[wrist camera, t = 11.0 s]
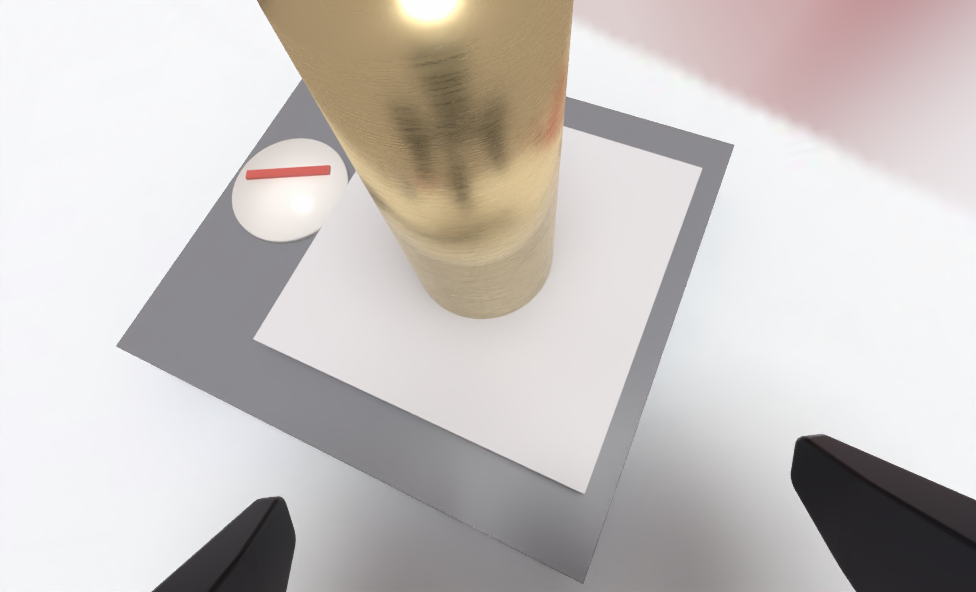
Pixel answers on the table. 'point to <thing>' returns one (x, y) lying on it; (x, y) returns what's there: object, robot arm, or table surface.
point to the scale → (444, 325)
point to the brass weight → (447, 130)
